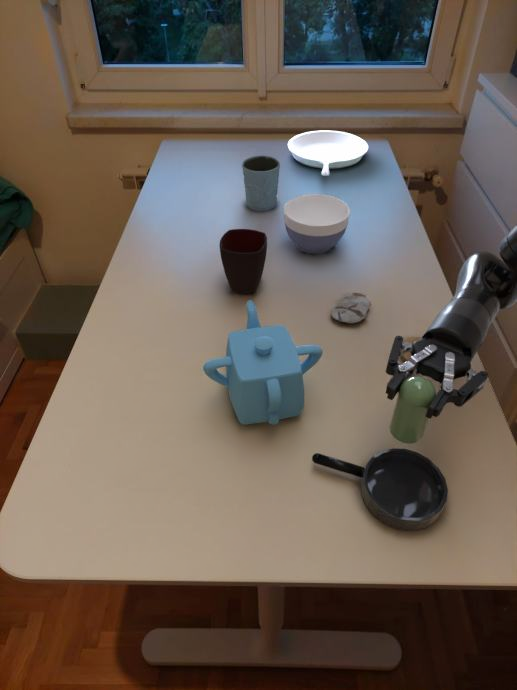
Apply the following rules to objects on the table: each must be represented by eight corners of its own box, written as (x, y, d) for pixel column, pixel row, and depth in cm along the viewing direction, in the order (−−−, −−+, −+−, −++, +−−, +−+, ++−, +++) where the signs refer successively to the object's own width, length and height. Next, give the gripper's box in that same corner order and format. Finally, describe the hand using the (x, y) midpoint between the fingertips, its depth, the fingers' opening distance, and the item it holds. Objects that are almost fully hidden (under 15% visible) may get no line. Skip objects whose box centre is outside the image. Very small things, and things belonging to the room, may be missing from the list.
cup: (218, 297, 111) (214, 251, 103) (232, 263, 121) (229, 218, 113) (262, 302, 110) (262, 255, 101) (272, 267, 120) (273, 221, 111)
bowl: (358, 251, 124) (363, 216, 118) (301, 267, 119) (304, 232, 113) (325, 222, 135) (328, 188, 128) (271, 236, 130) (272, 202, 123)
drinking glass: (280, 197, 146) (281, 156, 137) (276, 214, 138) (277, 172, 130) (246, 195, 147) (245, 154, 138) (240, 211, 139) (239, 170, 131)
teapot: (328, 392, 90) (335, 337, 81) (272, 451, 81) (273, 396, 72) (251, 349, 99) (249, 294, 90) (192, 397, 90) (184, 342, 81)
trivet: (443, 346, 99) (444, 342, 98) (438, 373, 94) (440, 369, 93) (402, 336, 101) (403, 332, 101) (395, 362, 96) (396, 359, 95)
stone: (360, 331, 102) (362, 321, 101) (326, 322, 105) (327, 312, 103) (372, 304, 109) (374, 295, 107) (340, 296, 111) (341, 286, 109)
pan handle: (367, 472, 77) (369, 466, 76) (365, 481, 76) (366, 475, 74) (313, 455, 79) (314, 449, 78) (310, 464, 78) (311, 458, 77)
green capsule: (426, 423, 74) (443, 375, 66) (418, 448, 70) (435, 400, 63) (394, 412, 75) (407, 364, 68) (385, 436, 72) (398, 388, 65)
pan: (365, 142, 175) (367, 128, 172) (369, 192, 147) (371, 176, 144) (290, 138, 178) (291, 125, 174) (279, 187, 150) (280, 172, 147)
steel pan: (446, 472, 78) (451, 461, 76) (437, 542, 70) (443, 532, 68) (370, 450, 81) (372, 439, 79) (353, 514, 73) (355, 504, 71)
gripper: (416, 296, 76) (363, 361, 66) (514, 333, 70) (472, 411, 60) (407, 333, 81) (357, 398, 71) (497, 370, 75) (455, 448, 65)
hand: (409, 404), depth 66 cm, fingers closed on green capsule, 4 cm apart
